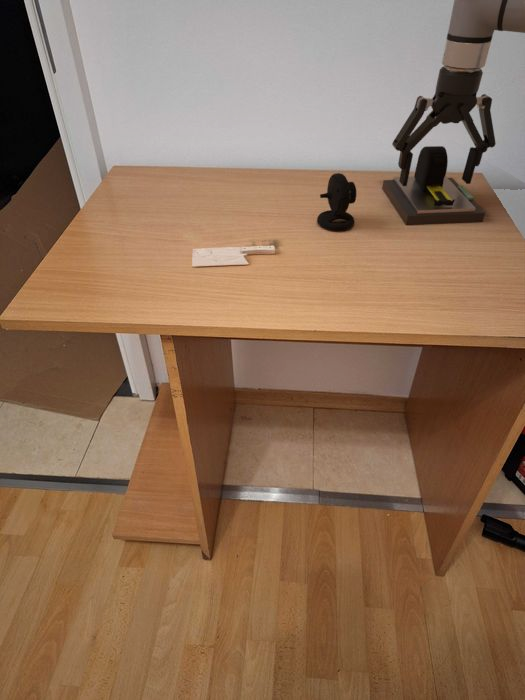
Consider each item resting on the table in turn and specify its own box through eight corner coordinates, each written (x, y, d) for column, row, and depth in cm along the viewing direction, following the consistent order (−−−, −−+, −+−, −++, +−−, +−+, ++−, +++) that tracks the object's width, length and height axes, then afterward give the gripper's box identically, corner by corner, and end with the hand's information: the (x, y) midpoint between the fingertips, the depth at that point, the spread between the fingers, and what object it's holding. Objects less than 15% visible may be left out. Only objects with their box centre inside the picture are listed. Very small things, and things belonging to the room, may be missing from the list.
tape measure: (413, 178, 108) (420, 141, 103) (432, 177, 108) (440, 140, 103) (433, 206, 97) (442, 167, 92) (454, 206, 97) (465, 166, 92)
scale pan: (444, 178, 110) (445, 175, 109) (474, 212, 97) (476, 208, 97) (392, 180, 109) (393, 177, 109) (416, 214, 96) (417, 210, 96)
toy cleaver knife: (276, 263, 86) (276, 258, 85) (192, 267, 86) (191, 262, 85) (274, 249, 90) (274, 243, 89) (193, 252, 89) (192, 247, 89)
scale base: (449, 186, 112) (452, 174, 110) (482, 221, 98) (486, 209, 96) (382, 188, 111) (383, 177, 109) (405, 225, 97) (408, 213, 96)
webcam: (360, 229, 96) (367, 180, 89) (324, 234, 94) (329, 184, 88) (345, 212, 101) (351, 165, 95) (311, 217, 100) (315, 168, 93)
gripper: (518, 61, 91) (484, 173, 105) (388, 64, 89) (371, 177, 103) (538, 70, 85) (499, 187, 99) (400, 73, 84) (381, 192, 98)
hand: (434, 182), depth 101 cm, fingers open, 13 cm apart
